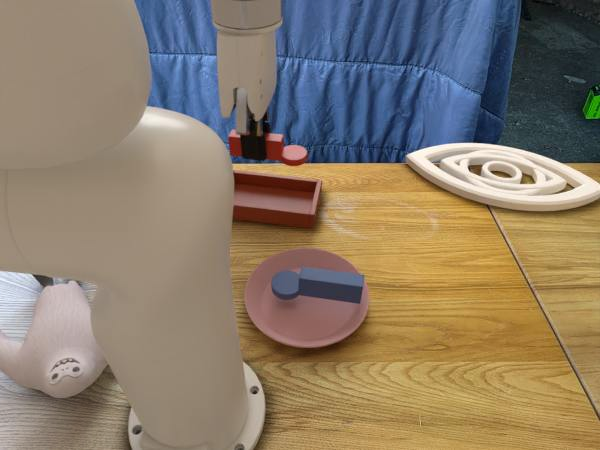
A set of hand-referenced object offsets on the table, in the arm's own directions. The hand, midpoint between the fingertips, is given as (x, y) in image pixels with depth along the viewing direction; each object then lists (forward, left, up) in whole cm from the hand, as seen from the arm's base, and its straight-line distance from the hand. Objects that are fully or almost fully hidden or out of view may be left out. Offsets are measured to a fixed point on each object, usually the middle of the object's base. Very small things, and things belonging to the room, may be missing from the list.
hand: (256, 152), depth 60 cm
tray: (0, -2, -9) cm, 9 cm away
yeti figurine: (-18, +21, -6) cm, 29 cm away
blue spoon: (-17, -11, -7) cm, 21 cm away
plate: (-17, -10, -9) cm, 21 cm away
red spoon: (0, -2, 0) cm, 2 cm away
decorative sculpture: (+14, -21, -6) cm, 26 cm away
